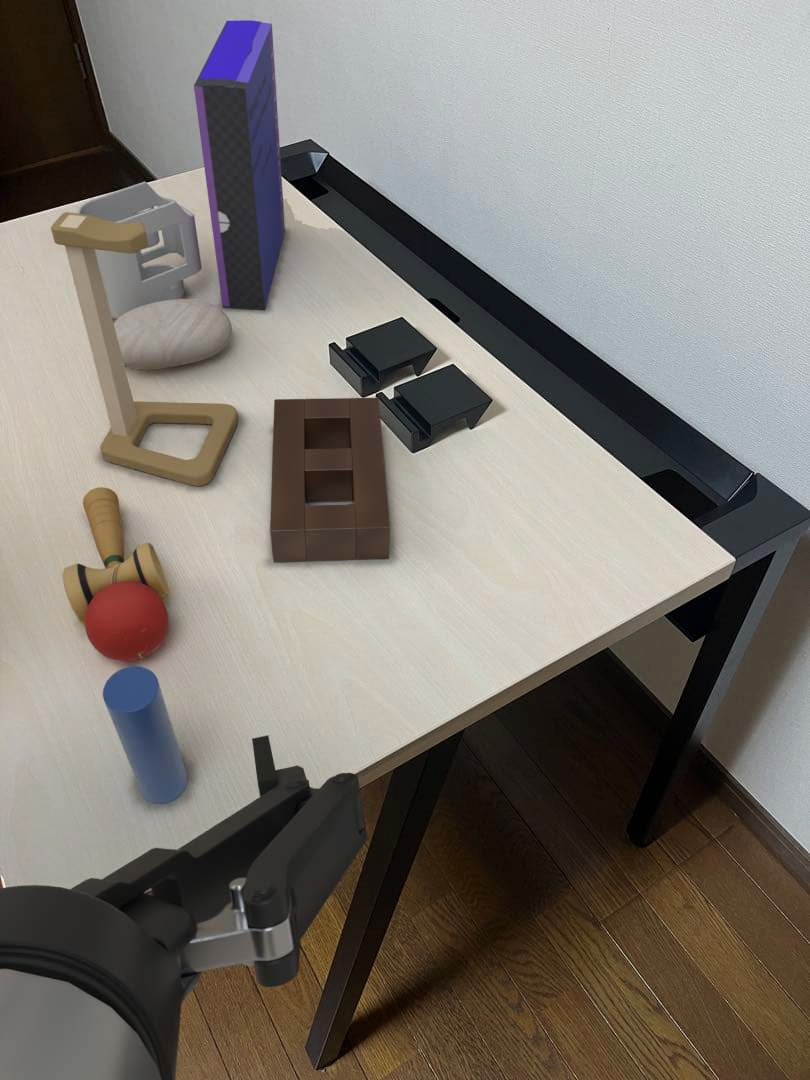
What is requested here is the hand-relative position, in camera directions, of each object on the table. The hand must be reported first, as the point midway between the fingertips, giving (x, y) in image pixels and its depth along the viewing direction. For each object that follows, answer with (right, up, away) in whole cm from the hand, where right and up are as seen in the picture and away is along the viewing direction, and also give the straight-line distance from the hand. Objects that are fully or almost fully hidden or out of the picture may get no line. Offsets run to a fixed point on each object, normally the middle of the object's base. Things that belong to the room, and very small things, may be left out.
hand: (111, 797), depth 39 cm
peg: (-4, -5, +22) cm, 23 cm away
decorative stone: (-12, +31, +54) cm, 63 cm away
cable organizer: (-15, +38, +60) cm, 73 cm away
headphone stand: (-9, +21, +45) cm, 50 cm away
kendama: (-10, +7, +33) cm, 35 cm away
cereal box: (-5, +44, +66) cm, 79 cm away
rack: (+6, +16, +41) cm, 45 cm away
